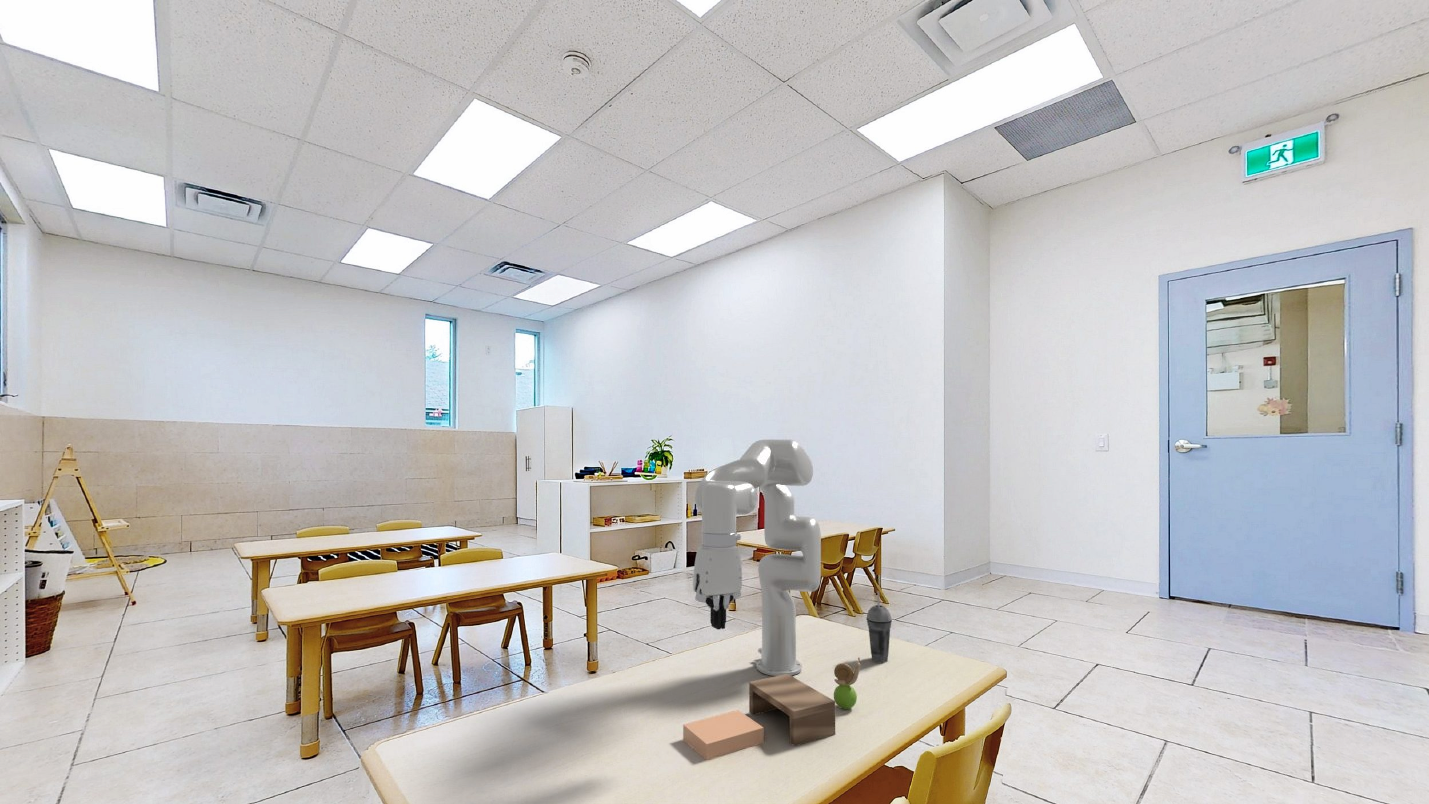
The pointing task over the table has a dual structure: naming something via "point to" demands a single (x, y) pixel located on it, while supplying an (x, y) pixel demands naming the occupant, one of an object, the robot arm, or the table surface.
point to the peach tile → (722, 734)
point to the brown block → (794, 706)
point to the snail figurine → (846, 685)
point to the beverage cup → (879, 632)
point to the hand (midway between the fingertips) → (718, 627)
